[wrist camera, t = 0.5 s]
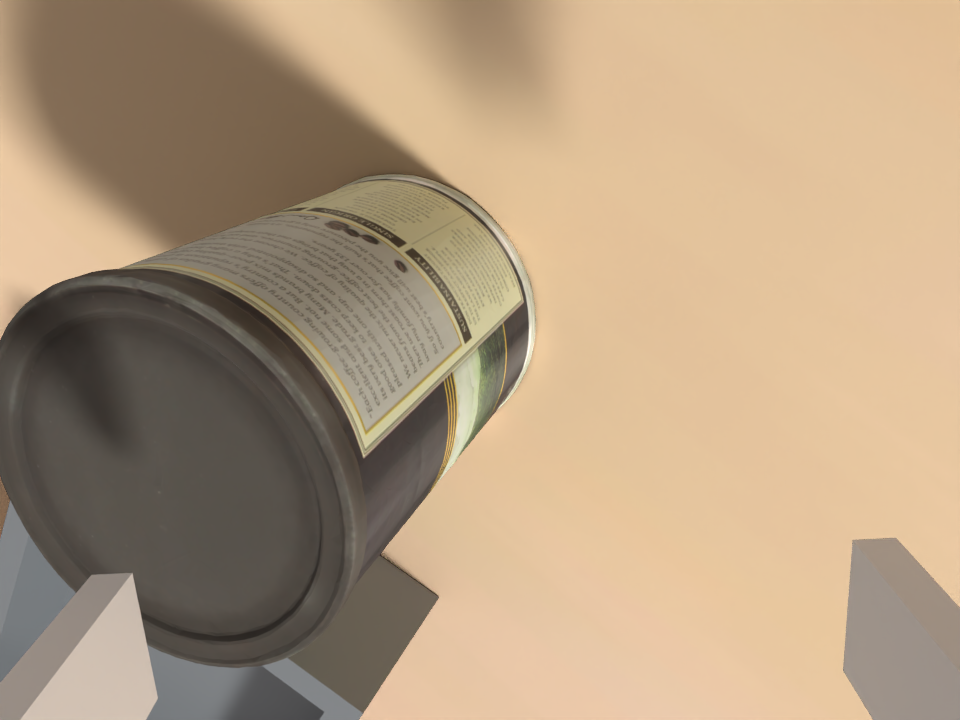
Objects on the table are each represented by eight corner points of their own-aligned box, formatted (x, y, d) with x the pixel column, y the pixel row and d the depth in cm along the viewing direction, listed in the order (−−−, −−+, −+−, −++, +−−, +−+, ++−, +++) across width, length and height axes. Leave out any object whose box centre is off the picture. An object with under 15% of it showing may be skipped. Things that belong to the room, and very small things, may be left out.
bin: (146, 390, 38) (20, 461, 32) (438, 597, 37) (363, 713, 31) (64, 630, 47) (-48, 722, 41) (297, 806, 45) (216, 929, 39)
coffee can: (564, 424, 32) (402, 685, 19) (330, 437, 36) (74, 660, 24) (507, 144, 29) (271, 245, 16) (258, 194, 33) (-79, 304, 21)
